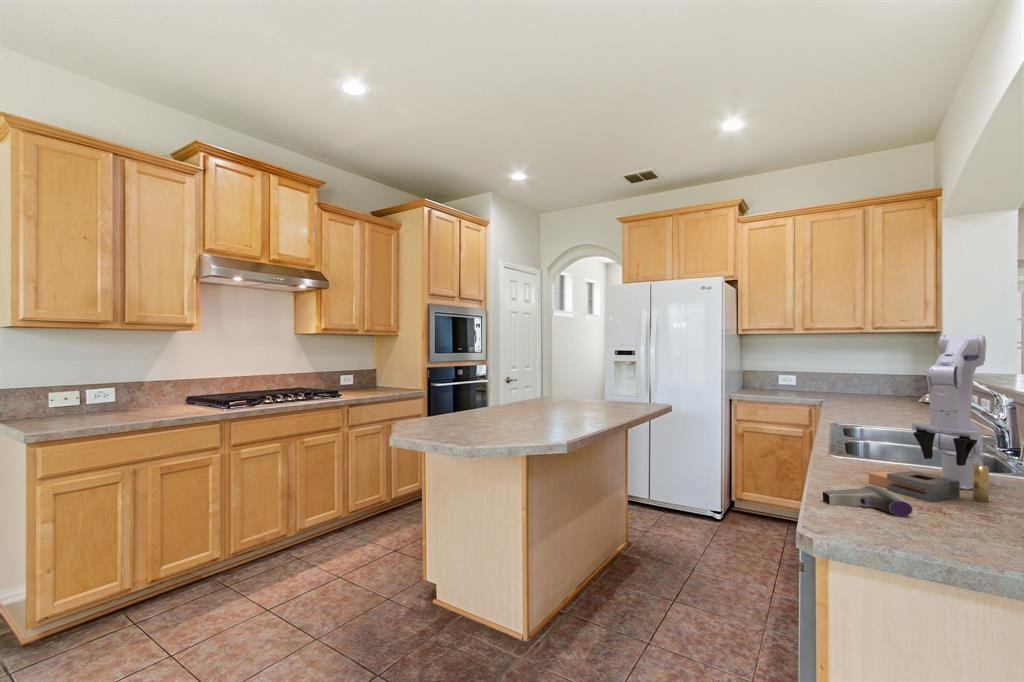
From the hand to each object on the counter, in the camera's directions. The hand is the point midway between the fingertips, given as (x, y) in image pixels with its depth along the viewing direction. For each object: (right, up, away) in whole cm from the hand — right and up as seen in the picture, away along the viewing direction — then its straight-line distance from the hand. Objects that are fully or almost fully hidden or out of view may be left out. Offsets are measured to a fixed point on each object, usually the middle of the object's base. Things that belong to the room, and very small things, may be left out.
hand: (944, 461), depth 130 cm
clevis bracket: (-3, -10, +3) cm, 10 cm away
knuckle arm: (-4, -10, +7) cm, 13 cm away
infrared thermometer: (-27, -10, -9) cm, 30 cm away
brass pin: (+8, -10, -2) cm, 12 cm away
